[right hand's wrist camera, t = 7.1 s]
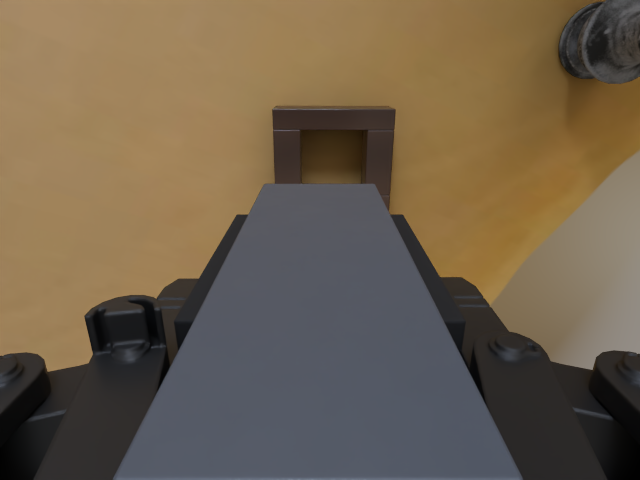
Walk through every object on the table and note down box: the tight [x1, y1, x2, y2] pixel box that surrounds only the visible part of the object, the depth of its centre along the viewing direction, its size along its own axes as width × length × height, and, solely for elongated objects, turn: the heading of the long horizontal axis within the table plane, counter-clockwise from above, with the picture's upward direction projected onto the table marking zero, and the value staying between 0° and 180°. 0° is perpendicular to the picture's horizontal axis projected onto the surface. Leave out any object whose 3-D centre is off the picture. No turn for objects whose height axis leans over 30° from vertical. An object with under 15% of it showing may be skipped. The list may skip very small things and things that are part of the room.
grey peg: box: [113, 184, 523, 480], centre depth 10 cm, size 4×4×12 cm
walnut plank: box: [273, 106, 395, 211], centre depth 35 cm, size 31×9×10 cm, turn 0°
